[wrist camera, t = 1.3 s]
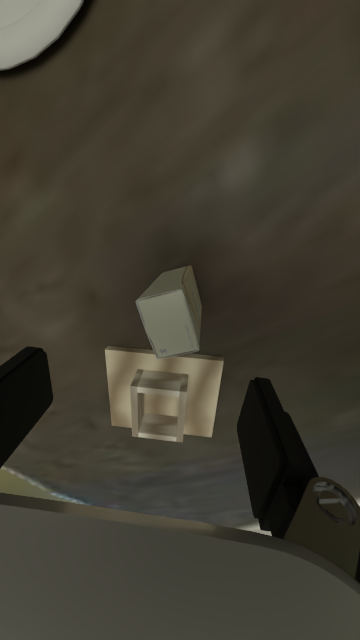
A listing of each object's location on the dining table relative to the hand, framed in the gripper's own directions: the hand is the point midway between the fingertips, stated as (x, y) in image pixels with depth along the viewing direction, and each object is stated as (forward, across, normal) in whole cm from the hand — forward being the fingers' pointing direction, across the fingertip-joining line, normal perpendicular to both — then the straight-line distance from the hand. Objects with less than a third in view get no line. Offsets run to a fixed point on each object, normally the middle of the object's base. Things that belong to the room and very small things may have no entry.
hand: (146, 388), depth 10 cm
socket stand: (+22, +1, +20) cm, 29 cm away
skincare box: (+22, 0, +2) cm, 22 cm away
